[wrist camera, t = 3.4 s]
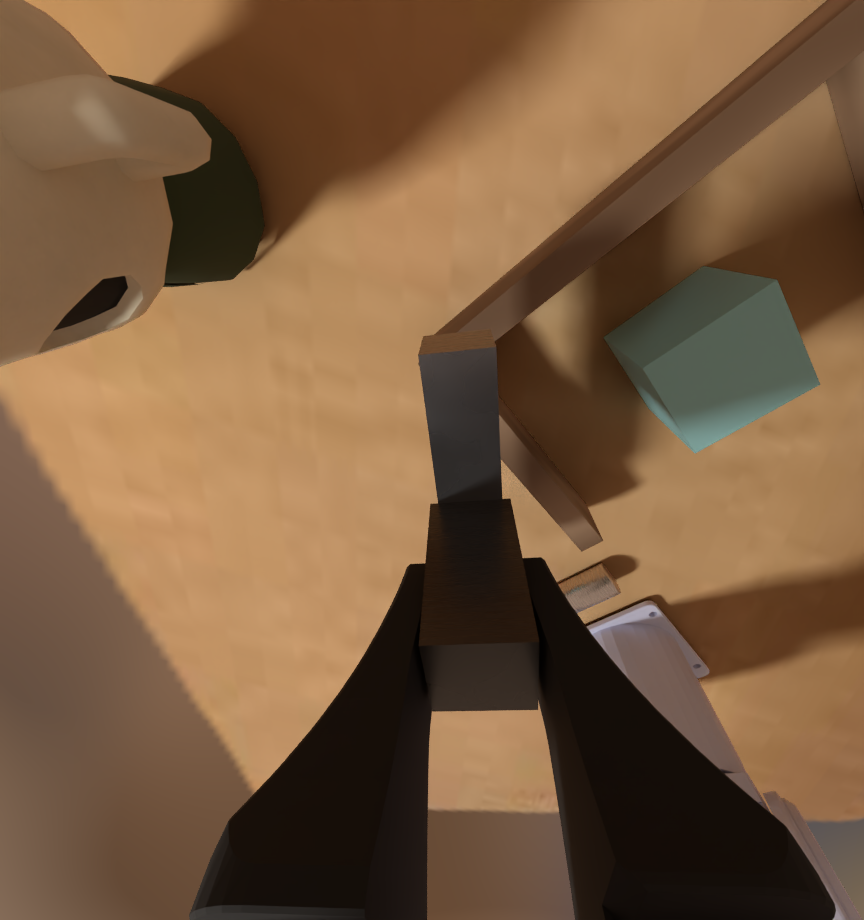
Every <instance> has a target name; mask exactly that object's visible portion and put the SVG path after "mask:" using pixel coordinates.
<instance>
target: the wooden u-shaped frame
mask: <svg viewBox="0 0 864 920" xmlns="http://www.w3.org/2000/svg"><path fill="white" fill-rule="evenodd" d="M825 81H826V82H827V86H828V89H829V93H830V96H831V100H832V103H833V106H834V110H835V113H836V117H837V120H838V124H839V127H840V131H841V134H842V138H843V141H844V145H845V148H846V151H847V155H848V158H849V162H850V165H851V169H852V172H853V176H854V179H855V183H856V186H857V189H858V193H859V196H860V200H861V203H862V207H863V210H864V0H827V1H826V2H825V3H823V4H822V5H821V6H820V7H819V8H818V9H816V10H815V11H814V12H813V13H812V14H811V15H809V16H808V17H807V18H806V19H805V20H803V21H802V22H801V23H800V24H799V25H798V26H796V27H795V28H794V29H793V30H792V31H791V32H789V33H788V34H787V35H786V36H785V37H783V38H782V39H781V40H780V41H779V42H778V43H776V44H775V45H774V46H773V47H772V48H771V49H769V50H768V51H767V52H766V53H765V54H764V55H762V56H761V57H760V58H759V59H758V60H756V61H755V62H754V63H753V64H752V65H751V66H749V67H748V68H747V69H746V70H745V71H744V72H742V73H741V74H740V75H739V76H738V77H737V78H735V79H734V80H733V81H732V82H731V83H729V84H728V85H727V86H726V87H725V88H724V89H722V90H721V91H720V92H719V93H718V94H717V95H715V96H714V97H713V98H712V99H711V100H709V101H708V102H707V103H706V104H705V105H704V106H702V107H701V108H700V109H699V110H698V111H697V112H695V113H694V114H693V115H692V116H691V117H690V118H688V119H687V120H686V121H685V122H684V123H682V124H681V125H680V126H679V127H678V128H677V129H675V130H674V131H673V132H672V133H671V134H670V135H668V136H667V137H666V138H665V139H664V140H663V141H661V142H660V143H659V144H658V145H657V146H655V147H654V148H653V149H652V150H651V151H650V152H648V153H647V154H646V155H645V156H644V157H643V158H641V159H640V160H639V161H638V162H637V163H635V164H634V165H633V166H632V167H631V168H630V169H628V170H627V171H626V172H625V173H624V174H623V175H621V176H620V177H619V178H618V179H617V180H616V181H614V182H613V183H612V184H611V185H610V186H608V187H607V188H606V189H605V190H604V191H603V192H601V193H600V194H599V195H598V196H597V197H596V198H594V199H593V200H592V201H591V202H590V203H588V204H587V205H586V206H585V207H584V208H583V209H581V210H580V211H579V212H578V213H577V214H576V215H574V216H573V217H572V218H571V219H570V220H569V221H567V222H566V223H565V224H564V225H563V226H561V227H560V228H559V229H558V230H557V231H556V232H554V233H553V234H552V235H551V236H550V237H549V238H547V239H546V240H545V241H544V242H543V243H542V244H540V245H539V246H538V247H537V248H536V249H534V250H533V251H532V252H531V253H530V254H529V255H527V256H526V257H525V258H524V259H523V260H522V261H520V262H519V263H518V264H517V265H516V266H514V267H513V268H512V269H511V270H510V271H509V272H507V273H506V274H505V275H504V276H503V277H502V278H500V279H499V280H498V281H497V282H496V283H495V284H493V285H492V286H491V287H490V288H489V289H487V290H486V291H485V292H484V293H483V294H482V295H480V296H479V297H478V298H477V299H476V300H475V301H473V302H472V303H471V304H470V305H469V306H468V307H466V308H465V309H464V310H463V311H462V312H460V313H459V314H458V315H457V316H456V317H455V318H453V319H452V320H451V321H450V322H449V323H448V324H446V325H445V326H444V327H443V328H442V329H440V330H439V331H438V332H437V333H436V334H435V335H440V334H449V333H459V332H468V331H477V330H486V329H490V330H491V333H492V336H493V338H494V341H496V340H497V339H499V338H500V337H501V336H502V335H504V334H505V333H506V332H508V331H509V330H510V329H511V328H513V327H514V326H515V325H516V324H518V323H519V322H520V321H521V320H523V319H524V318H525V317H527V316H528V315H529V314H530V313H532V312H533V311H534V310H535V309H537V308H538V307H539V306H541V305H542V304H543V303H544V302H546V301H547V300H548V299H549V298H551V297H552V296H553V295H554V294H556V293H557V292H558V291H560V290H561V289H562V288H563V287H565V286H566V285H567V284H568V283H570V282H571V281H572V280H574V279H575V278H576V277H577V276H579V275H580V274H581V273H582V272H584V271H585V270H586V269H587V268H589V267H590V266H591V265H593V264H594V263H595V262H596V261H598V260H599V259H600V258H601V257H603V256H604V255H605V254H607V253H608V252H609V251H610V250H612V249H613V248H614V247H615V246H617V245H618V244H619V243H620V242H622V241H623V240H624V239H626V238H627V237H628V236H629V235H631V234H632V233H633V232H634V231H636V230H637V229H638V228H640V227H641V226H642V225H643V224H645V223H646V222H647V221H648V220H650V219H651V218H652V217H653V216H655V215H656V214H657V213H659V212H660V211H661V210H662V209H664V208H665V207H666V206H667V205H669V204H670V203H671V202H673V201H674V200H675V199H676V198H678V197H679V196H680V195H681V194H683V193H684V192H685V191H686V190H688V189H689V188H690V187H692V186H693V185H694V184H695V183H697V182H698V181H699V180H700V179H702V178H703V177H704V176H706V175H707V174H708V173H709V172H711V171H712V170H713V169H714V168H716V167H717V166H718V165H719V164H721V163H722V162H723V161H725V160H726V159H727V158H728V157H730V156H731V155H732V154H733V153H735V152H736V151H737V150H739V149H740V148H741V147H742V146H744V145H745V144H746V143H747V142H749V141H750V140H751V139H752V138H754V137H755V136H756V135H758V134H759V133H760V132H761V131H763V130H764V129H765V128H766V127H768V126H769V125H770V124H772V123H773V122H774V121H775V120H777V119H778V118H779V117H780V116H782V115H783V114H784V113H785V112H787V111H788V110H789V109H791V108H792V107H793V106H794V105H796V104H797V103H798V102H799V101H801V100H802V99H803V98H805V97H806V96H807V95H808V94H810V93H811V92H812V91H813V90H815V89H816V88H817V87H818V86H820V85H821V84H822V83H824V82H825ZM419 366H420V364H419ZM498 403H499V429H500V455H501V460H502V461H503V462H504V463H505V464H506V465H507V467H508V468H509V469H510V470H511V471H512V472H513V473H514V475H515V476H516V477H517V478H518V479H519V480H520V481H521V483H522V484H523V485H524V486H525V487H526V488H527V489H528V491H529V492H530V493H531V494H532V495H533V496H534V497H535V499H536V500H537V501H538V502H539V503H540V504H541V505H542V507H543V508H544V509H545V510H546V511H547V512H548V514H549V515H550V516H551V517H552V518H553V519H554V520H555V522H556V523H557V524H558V525H559V526H560V527H561V528H562V530H563V531H564V532H565V533H566V534H567V535H568V536H569V538H570V539H571V540H572V541H573V542H574V543H575V544H576V546H577V547H578V548H579V549H580V550H581V551H584V550H586V549H588V548H590V547H592V546H594V545H596V544H598V543H600V542H601V541H603V539H602V537H601V535H600V533H599V531H598V529H597V526H596V524H595V522H594V520H593V518H592V516H591V514H590V511H589V509H588V507H587V505H586V503H585V502H584V501H583V500H582V499H581V497H580V496H579V495H578V494H577V492H576V491H575V490H574V489H573V487H572V486H571V485H570V484H569V482H568V481H567V480H566V479H565V477H564V476H563V475H562V474H561V472H560V471H559V470H558V469H557V468H556V466H555V465H554V464H553V463H552V461H551V460H550V459H549V458H548V456H547V455H546V454H545V453H544V451H543V450H542V449H541V448H540V446H539V445H538V444H537V443H536V442H535V440H534V439H533V438H532V437H531V435H530V434H529V433H528V432H527V430H526V429H525V428H524V427H523V425H522V424H521V423H520V422H519V420H518V419H517V418H516V417H515V415H514V414H513V413H512V412H511V411H510V409H509V408H508V407H507V406H506V404H505V403H504V402H503V401H502V399H501V398H500V397H499V396H498Z"/></svg>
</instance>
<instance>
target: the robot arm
mask: <svg viewBox="0 0 864 920" xmlns="http://www.w3.org/2000/svg"><path fill="white" fill-rule="evenodd" d="M522 559H523V563H524V568H525V573H526V578H527V583H528V588H529V593H530V598H531V603H532V608H533V612H534V617H535V622H536V627H537V632H538V637H539V685H538V700H539V704H540V708H541V712H542V716H543V720H544V725H545V729H546V734H547V739H548V744H549V750H550V756H551V762H552V768H553V775H554V781H555V787H556V794H557V800H558V806H559V813H560V819H561V826H562V832H563V839H564V846H565V853H566V859H567V866H568V873H569V880H570V886H571V893H572V900H573V908H574V915H575V920H862V918H861V916H860V915H859V913H858V911H857V909H856V908H855V906H854V904H853V903H852V901H851V899H850V897H849V896H848V894H847V892H846V891H845V889H844V887H843V885H842V884H841V882H840V880H839V878H838V877H837V875H836V873H835V872H834V870H833V868H832V867H831V865H830V863H829V861H828V860H827V858H826V856H825V854H824V853H823V851H822V849H821V848H820V846H819V844H818V842H817V841H816V839H815V837H814V836H813V834H812V832H811V831H810V829H809V828H808V826H807V824H806V822H805V820H804V819H803V817H802V815H801V814H800V812H799V811H798V809H797V807H796V806H795V805H794V804H793V803H791V802H789V801H788V800H786V799H784V798H780V796H779V795H778V794H777V793H776V792H775V791H770V792H768V793H763V795H764V797H765V799H766V801H767V803H768V805H769V807H770V809H771V811H772V813H773V815H772V814H771V813H770V811H769V809H768V807H767V805H766V803H765V802H764V800H763V798H762V797H761V795H760V793H759V792H758V790H757V789H756V787H755V785H754V784H753V782H752V780H751V779H750V777H749V775H748V774H747V773H746V771H745V769H744V767H743V764H742V762H741V760H740V758H739V756H738V754H737V752H736V750H735V749H734V747H733V745H732V743H731V741H730V739H729V737H728V735H727V733H726V732H725V730H724V728H723V726H722V724H721V722H720V720H719V718H718V717H717V715H716V713H715V711H714V709H713V707H712V705H711V703H710V701H709V700H708V698H707V696H706V694H705V692H704V690H703V688H702V686H701V684H700V683H699V681H698V678H701V677H704V676H706V675H708V674H709V672H710V671H709V669H708V667H707V665H706V664H705V663H704V662H703V661H702V659H701V658H700V657H699V656H698V655H697V653H696V652H695V651H694V650H693V648H692V647H691V646H690V645H689V644H688V642H687V641H686V640H685V639H684V638H683V636H682V635H681V634H680V633H679V632H678V630H677V629H676V628H675V627H674V625H673V624H672V623H671V622H670V621H669V619H668V618H667V617H666V616H665V615H664V613H663V612H662V611H661V610H660V608H659V607H658V606H657V605H656V604H655V603H654V602H653V601H644V602H642V603H639V604H637V605H635V606H632V607H630V608H628V609H625V610H623V611H621V612H619V613H616V614H614V615H612V616H609V617H607V618H605V619H602V620H600V621H598V622H596V623H593V624H591V625H589V626H585V624H584V623H583V621H582V620H581V619H580V617H579V616H578V614H577V613H576V611H575V610H574V609H573V607H572V606H571V604H570V603H569V601H568V600H567V598H566V597H565V595H564V593H563V592H562V590H561V589H560V587H559V585H558V584H557V582H556V580H555V579H554V577H553V575H552V573H551V572H550V570H549V568H548V566H547V564H546V562H545V560H544V559H542V558H541V557H540V558H522ZM425 564H426V563H425ZM425 564H410V565H409V566H408V567H407V569H406V572H405V574H404V577H403V579H402V582H401V584H400V587H399V589H398V591H397V594H396V596H395V598H394V600H393V602H392V604H391V606H390V608H389V610H388V612H387V614H386V616H385V618H384V620H383V622H382V624H381V626H380V628H379V630H378V632H377V633H376V635H375V637H374V638H373V640H372V642H371V644H370V645H369V647H368V649H367V651H366V652H365V654H364V656H363V657H362V659H361V661H360V662H359V664H358V665H357V667H356V668H355V670H354V672H353V673H352V675H351V676H350V678H349V679H348V680H347V682H346V683H345V685H344V686H343V688H342V689H341V691H340V692H339V693H338V695H337V696H336V698H335V699H334V700H333V702H332V703H331V704H330V706H329V707H328V708H327V710H326V711H325V712H324V714H323V715H322V716H321V718H320V719H319V720H318V721H317V723H316V724H315V725H314V727H313V728H312V729H311V730H310V732H309V733H308V734H307V735H306V736H305V737H304V739H303V740H302V741H301V742H300V743H299V744H298V746H297V747H296V748H295V749H294V750H293V752H292V753H291V754H290V755H289V756H288V757H287V759H286V760H285V761H284V762H283V763H282V764H281V766H280V767H279V768H278V769H277V770H276V771H275V772H274V773H273V774H272V776H271V777H270V778H269V779H268V780H267V781H266V782H265V783H264V784H263V785H262V786H261V787H260V788H259V789H258V790H257V791H256V792H255V793H254V794H253V795H252V796H251V798H250V799H249V800H248V801H247V802H246V803H245V804H244V805H243V806H242V807H241V808H240V809H239V810H238V811H237V812H236V813H235V814H234V815H233V816H232V817H231V819H230V820H229V821H228V823H227V825H226V827H225V830H224V832H223V834H222V836H221V838H220V840H219V842H218V844H217V846H216V848H215V850H214V853H213V855H212V857H211V859H210V862H209V864H208V867H207V870H206V872H205V875H204V877H203V880H202V883H201V885H200V888H199V891H198V893H197V896H196V899H195V901H194V904H193V907H192V910H191V912H190V915H189V917H190V920H427V817H428V760H429V735H430V723H431V713H432V707H431V702H430V697H429V693H428V688H427V683H426V678H425V673H424V669H423V664H422V659H421V654H420V650H419V636H420V624H421V612H422V600H423V588H424V576H425Z"/></svg>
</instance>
